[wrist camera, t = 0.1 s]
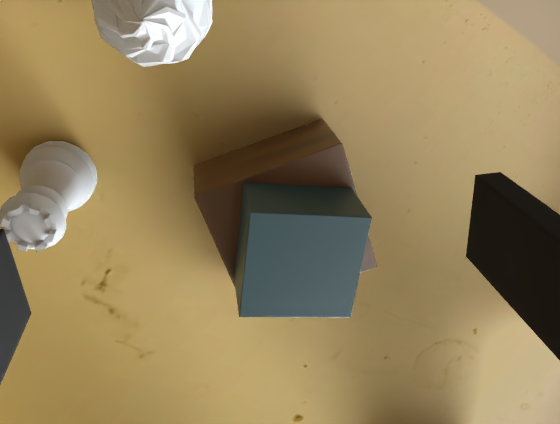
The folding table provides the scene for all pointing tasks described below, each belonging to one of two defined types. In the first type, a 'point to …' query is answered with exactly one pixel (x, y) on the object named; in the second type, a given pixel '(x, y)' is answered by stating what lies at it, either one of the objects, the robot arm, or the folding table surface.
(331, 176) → the base block
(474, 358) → the folding table surface
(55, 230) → the rook chess piece
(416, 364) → the folding table surface
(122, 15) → the ice cream cone
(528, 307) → the robot arm
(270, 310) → the top block
